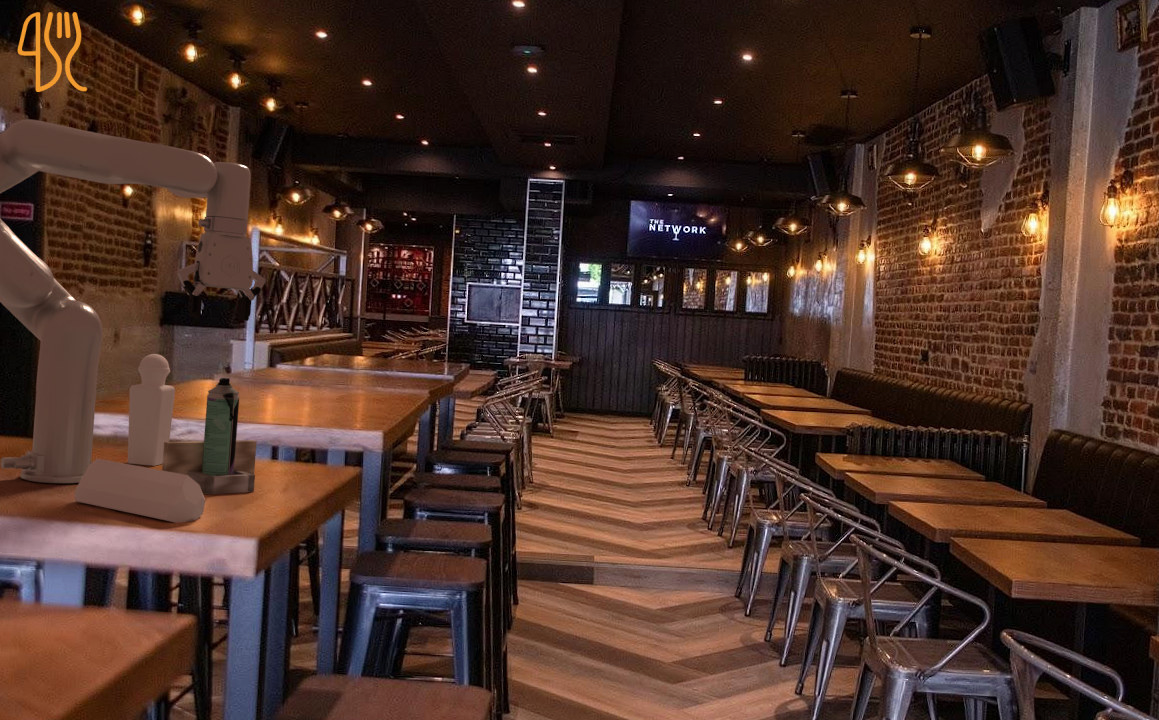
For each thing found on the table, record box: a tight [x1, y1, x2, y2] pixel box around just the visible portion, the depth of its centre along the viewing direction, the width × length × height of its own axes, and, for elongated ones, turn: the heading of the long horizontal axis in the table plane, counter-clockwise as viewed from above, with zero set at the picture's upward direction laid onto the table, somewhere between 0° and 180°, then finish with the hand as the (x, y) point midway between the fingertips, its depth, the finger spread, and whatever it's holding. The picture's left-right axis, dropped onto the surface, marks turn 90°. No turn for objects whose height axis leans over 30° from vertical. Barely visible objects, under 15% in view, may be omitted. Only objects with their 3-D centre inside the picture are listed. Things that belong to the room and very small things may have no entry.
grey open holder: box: [161, 439, 257, 495], centre depth 188 cm, size 17×9×8 cm, turn 136°
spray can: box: [202, 377, 240, 476], centre depth 187 cm, size 6×6×20 cm
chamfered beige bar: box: [74, 458, 206, 524], centre depth 163 cm, size 7×7×24 cm
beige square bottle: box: [127, 353, 176, 467], centre depth 208 cm, size 6×6×22 cm
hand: (219, 318), depth 198 cm, fingers open, 9 cm apart
